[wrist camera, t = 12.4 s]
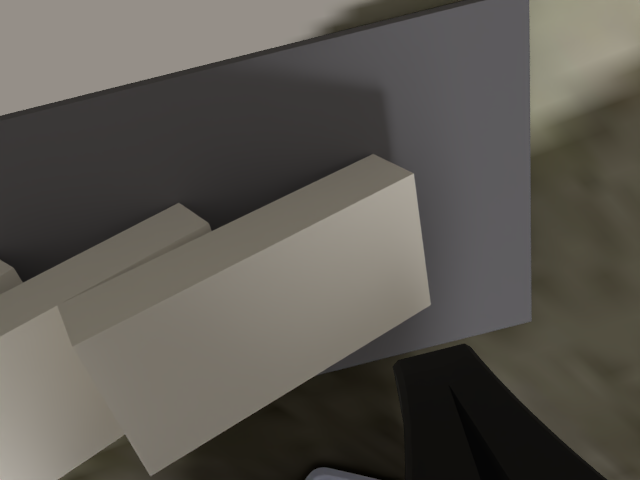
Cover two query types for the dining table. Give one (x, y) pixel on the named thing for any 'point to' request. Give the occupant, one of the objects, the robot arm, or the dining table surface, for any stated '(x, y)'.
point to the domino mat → (306, 154)
